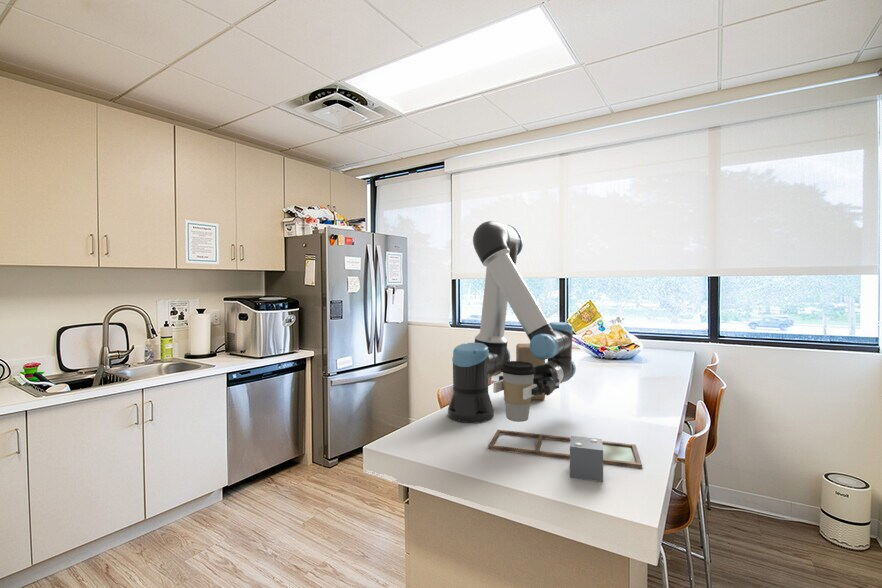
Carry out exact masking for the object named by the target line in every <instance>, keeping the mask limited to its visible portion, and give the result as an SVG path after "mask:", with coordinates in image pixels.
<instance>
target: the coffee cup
mask: <svg viewBox="0 0 882 588" xmlns="http://www.w3.org/2000/svg"><path fill="white" fill-rule="evenodd" d="M501 373H502V376H503V388H504V390H503V399H504V405H505V417H506V419H507V420H509V421H511V422H516V423H517V422H519V423H522V422H526V421H528V420H529V417H530V416H529V415H530V408H531V403H532V400H531V398H532V397H530V398H528V399H526V400H525V399H523V389H524V388H526V387H529V386H531V385H533V383H534V382H533V379H534V374H535V373H536V372H535V368H533V364H531V363H528V362H522V361H516V360H510V361H508V362H504V365H503V366H502V367H501Z"/></svg>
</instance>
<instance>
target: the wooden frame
mask: <svg viewBox="0 0 882 588" xmlns="http://www.w3.org/2000/svg"><path fill="white" fill-rule="evenodd" d="M500 435H509V436H516V437H517V436H518V437H525V438H536V439H537V440H536V441H537V442H536V445H535V448H534V449H527V448H520V447H511V446H504V445H495V444H496V442H497V441H498V439H499V438H500ZM543 439H545V440H550V441H551V440H554V441H562V442H569V443H570V439H571V436H569V437H568V436H559V435H552V434H551V435H550V434H544V433H542V434H541V433H534V432H533V433H532V432H524V431H516V430H515V431H514V430H505V429H497V430H496V432H495V433H494V435H493V437H492V439H491V440H490V442H489V444H488V445H487V449H488V450H494V451H502V452H510V453H517V454H525V455H526V454H527V455H534V456H540V457H541V456H542V457H548V458H549V457H550V458H558V459H565V460H570V453H569V454H567V453H562V452H561V453H560V452H552V451H544V450H541V446H542V443H543ZM602 444H603V465H604V464H605V465H613V466H618V467H619V466H620V467H627V466H629V467H630V468H635V467H638V468H637V469H643V463H642V459H641V457H640V454H639V450H638V447H637V444H633V443H625V442H615V441H605V440H602ZM629 467H628V468H629Z"/></svg>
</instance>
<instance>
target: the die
mask: <svg viewBox="0 0 882 588" xmlns="http://www.w3.org/2000/svg"><path fill="white" fill-rule="evenodd" d="M570 437H571V439H570V442H569V454H570V459H569V478H572V479H579V480H580V479H581V480H587V481H594V482H601V483H603V482H604V463H603V444H602V441H603V439H602V438H596V437H587V436H586V437H585V436H577V435H570Z"/></svg>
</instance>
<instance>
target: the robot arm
mask: <svg viewBox="0 0 882 588" xmlns="http://www.w3.org/2000/svg"><path fill="white" fill-rule="evenodd" d="M472 244H473V248H474V251H475V253H476V254H477V257H478V259H479V260H480V262H481V263H482V265H483V267H486V268H485V269H486V270H485V278H484V279H485V280H484V291H483V297H482V298H483V300H482V306H481V307H482V308H481V318H480V319H481V320H480V326H479V327H480V329H479V333H478V334H476V335H475V336H474V342H467V343H461V344H458V345H456V346H455V347H454V349H453V352H452V390H453V391H452V395H451V398H450V400H449V404H448V407H447V416H448V418H450V419H451V420H453V421H456V422H460V423H483V422H487V421H490V420H492V419H493V418H494V417H495V415H494V411H495V410H494V407H493V403H492V400H491V398H490V394H489V378H492V377H494V376H498V375H499V376H498V380H497V381H494V382H493V393H495V394H497V393H501V392H502V391H504V388H503V375H500V374H502V372H501V367H502V366H503V365H504V362H508V361H511V354H510V350H509V349H508V339H507V338H506V337H505V328H506V327H505V326H506V317H507V312H508V311H507V309H508V304H509V306H510V308H511V310H512V312H513V313H514V315H515V317H516V319H517V320H518V322H519V323H520V325H521V327H522V329H523V331H524V332H525V334H526V336H527V338H528V339H529V344H530V351H531V353H532V354H533V355H534V356H535V357H536V358H538V359H542V360H544V359H545V360H547V361H545V363H543V364H541V365H538V366H535V367H534V368H535V372H536V373H535V374H534V379H533V382H534V383H533V385H531V386H529V387H526V388H524V389H523V399H525V400H526V399H528V398H530V397H532V396H534V395H537V394H539V395H541V394H542V393H545V396H550V395H551V394H552V393H553V392H554V391H555V390H557V389H559V388H560V384H563V383H565V382H568V381H569V380H571V378H573V377H574V376H575V374H576V370H577V369H576V365H575V362H574V361H573V360H572V359H573V358H572V356H573V355H572V352H573V335H574V333H573V325H572V324H571V323H570V322H564V321H561V322H560V321H553V322H552V321H551V322H549V321H548V319H547V316H546V315H545V314H544V312H543V311H542V309H541V307H540V305H539V303H538V302H537V301H536V300H537V299H536V298H535V296H534V295H533V294H532V292H531V289H529V287H528V285H527V283H526V281H525V280H524V278H523V277H522V275H521V273H520V271H519V270H518V268H517V266H516V265H517V260H518V256H519V254H520V253H521V252H522V250H523V247H524V240H523V236H522V234H521V232H520V231H519V230H518V228H515V227H514V226H512V225H510V224H506V223H502V222H498V221H494V220H488V221H484V222H482V223H481V224H479V226H478V225H477V228H476V229H475V231H474V232H473V236H472Z"/></svg>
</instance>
